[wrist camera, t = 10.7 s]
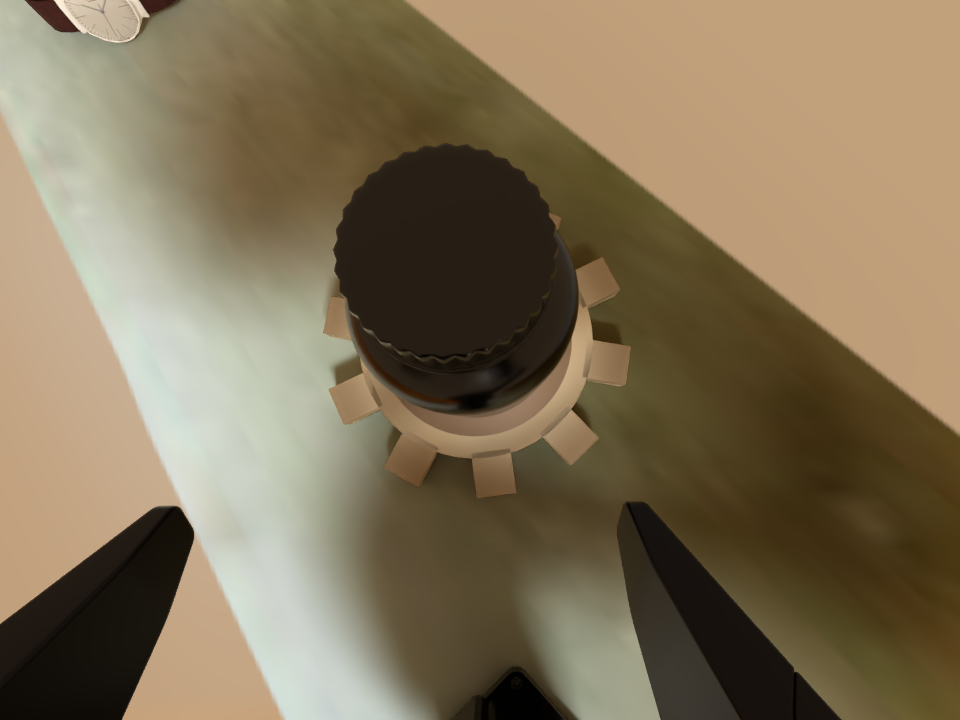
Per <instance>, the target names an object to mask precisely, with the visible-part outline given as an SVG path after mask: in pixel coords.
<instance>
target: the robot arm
mask: <svg viewBox="0 0 960 720" xmlns="http://www.w3.org/2000/svg"><path fill="white" fill-rule="evenodd" d="M617 537H618V543H619V549H620V555H621V561H622V566H623V572H624V578H625V584H626V589H627V595H628V601H629V606H630V611H631V616H632V620H633V624H634V627H635V631H636V634H637V638H638V641H639V645H640V648H641V652H642V655H643V659H644V662H645V666H646V669H647V673H648V676H649V680H650V683H651V687H652V690H653V694H654V697H655V701H656V704H657V708H658V711H659V715H660V718H661V720H841V719H840V718H839V716H838V715H837V714H836V713H835V712H834V711H833V710H832V709H831V708H830V707H829V706H828V705H827V704H826V702H825V701H824V700H823V699H822V698H821V697H820V696H819V695H818V694H817V693H816V692H815V690H814V689H813V688H812V687H811V686H810V685H809V684H808V683H807V682H806V680H805V679H804V678H803V677H802V676H801V675H800V674H799V673H798V672H794V667H793V666H792V665H791V664H790V663H789V662H788V661H787V659H786V658H785V657H784V656H783V655H782V654H781V653H780V652H779V651H778V649H777V648H776V647H775V646H774V645H773V644H772V643H771V642H770V640H769V639H768V638H767V637H766V636H765V635H764V634H763V633H762V632H761V630H760V629H759V628H758V627H757V626H756V625H755V624H754V623H753V621H752V620H751V619H750V618H749V617H748V616H747V615H746V614H745V613H744V611H743V610H742V609H741V608H740V607H739V606H738V605H737V604H736V603H735V601H734V600H733V599H732V598H731V597H730V596H729V595H728V594H727V592H726V591H725V590H724V589H723V588H722V587H721V586H720V585H719V584H718V582H717V581H716V580H715V579H714V578H713V577H712V576H711V575H710V573H709V572H708V571H707V570H706V569H705V568H704V567H703V566H702V565H701V563H700V562H699V561H698V560H697V559H696V558H695V557H694V556H693V555H692V553H691V552H690V551H689V550H688V549H687V548H686V547H685V546H684V544H683V543H682V542H681V541H680V540H679V539H678V538H677V537H676V536H675V534H674V533H673V532H672V531H671V530H670V529H669V528H668V527H667V525H666V524H665V523H664V522H663V521H662V520H661V519H660V518H659V517H658V515H657V514H656V513H655V512H654V511H653V510H652V509H651V508H650V507H649V505H648V504H646V503H644V502H625V503H624V504H623V507H622V510H621V514H620V518H619V522H618V526H617ZM193 540H194V530H193V528H192V526H191V524H190V523H189V521H188V519H187V518H186V516H185V514H184V513H183V511H182V509H181V508H180V507H178V506H158V507H155V508H153V509H151V510H150V511H148V512H147V513H146V514H144V515H143V516H142V517H141V518H139V519H138V520H137V521H135V522H134V523H133V524H131V525H130V526H129V527H127V528H126V529H125V530H123V531H122V532H121V533H119V534H118V535H117V536H115V537H114V538H113V539H112V540H110V541H109V542H108V543H106V544H105V545H104V546H102V547H101V548H100V549H98V550H97V551H96V552H94V553H93V554H92V555H91V556H89V557H88V558H86V559H85V560H84V561H83V562H81V563H80V564H79V565H77V566H76V567H75V568H73V569H72V570H71V571H69V572H68V573H67V574H65V575H64V576H63V577H61V578H60V579H59V580H57V581H56V582H55V583H54V584H52V585H51V586H50V587H48V588H47V589H46V590H44V591H43V592H42V593H40V594H39V595H38V596H37V597H35V598H34V599H33V600H31V601H30V602H29V603H27V604H26V605H25V606H23V607H22V608H21V609H19V610H18V611H17V612H16V613H14V614H13V615H11V616H10V617H9V618H7V619H6V620H5V621H3V622H2V623H1V624H0V720H122V718H123V716H124V714H125V712H126V709H127V707H128V705H129V703H130V700H131V698H132V696H133V694H134V691H135V689H136V687H137V685H138V683H139V680H140V678H141V676H142V674H143V671H144V669H145V667H146V665H147V663H148V660H149V658H150V656H151V654H152V651H153V649H154V647H155V645H156V642H157V640H158V638H159V636H160V633H161V631H162V629H163V626H164V624H165V622H166V619H167V617H168V614H169V612H170V609H171V606H172V603H173V601H174V598H175V595H176V592H177V589H178V586H179V583H180V580H181V577H182V574H183V571H184V568H185V565H186V562H187V559H188V556H189V553H190V550H191V547H192V544H193ZM515 677H518V678H520V679H521V680H522V681H521V683H520V684H518V685H515V684H513V683H512V682H511V681H512V679H513V678H515ZM452 720H568V719H567V718H566V717H565V715H564V714H563V713H562V712H561V711H560V710H559V709H558V708H557V707H556V705H555V704H554V703H553V702H552V701H551V700H550V699H549V698H548V696H547V695H546V694H545V693H544V692H543V691H542V690H541V689H540V687H539V686H538V685H537V684H536V683H535V682H534V681H533V680H532V678H531V677H530V676H529V675H528V674H527V673H526V672H525V671H524V670H523V669H522V668H520V667H512V668H510V669H509V670H508V671H507V672H506V673H505V674H504V675H503V676H502V677H501V678H500V679H499V680H498V681H497V682H496V683H495V684H494V685H493V686H492V687H491V688H490V689H489V690H488V691H487V692H486V693H485V694H484V695H483V696H482V695H477V696H474V697H473V698H472V699H471V700H470V701H469V702H468V703H467V704H466V705H465V706H464V707H463V708H462V709H461V710H460V711H459V712H458V713H457V715H456V716H455V717H454V718H453V719H452Z"/></svg>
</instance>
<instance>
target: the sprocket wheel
mask: <svg viewBox="0 0 960 720" xmlns="http://www.w3.org/2000/svg"><path fill="white" fill-rule="evenodd" d="M549 216H550V217H551V219H552V220H553V222H554V223H555V225H556V230H558V227H559V224H560V221H561V218H560V217H558V216H556V215H554V214H552V213H550V212H549ZM576 274H577V280H578V287H579V308H578V316H577V321H576V325H575V329H574V332H573V335H572V338H571V341H570V343H569V345H568V347H567V350H566V352H565V354H564V355H563V357H562V359H561V361H560V362H559V364H558V365H557V366H556V368H555V369H554V370H553V372H552V373H551V374H550V375H549V376H548V378H547V379H546V380H545V381H544V382H543V383H542V384H541V385H540V386H539V387H538V388H537V389H536V390H535V391H534V392H533V393H532V394H531V395H530V396H529V397H528V398H527V399H526V400H524V401H523V402H522V403H520V404H519V405H517V406H515V407H514V408H512V409H510V410H508V411H506V412H503V413H500V414H497V415H493V416H488V417H479V418H470V417H461V416H454V415H447V414H441V413H436V412H432V411H430V410H426V409H423V408H420V407H417V406H415V405H413V404H411V403H409V402H406V401H404V400H403V399H401V398H400V397H398V396H396V395H395V394H393V393H392V392H391V391H389V390H388V389H387V388H385V387H384V386H383V385H382V384H381V383H380V382H379V381H378V380H377V379H376V378H375V377H374V376H373V375H372V374H371V373H370V372H369V370H368V369H367V368H366V366H365V365H364V363H363V362H362V360H361V358H360V360H361V367H362V371H363V373H361V374H359V375H357V376H355V377H353V378H351V379H349V380H347V381H345V382H343V383H341V384H339V385H337V386H335V387H332V388H330V389H329V392H330V394H331V396H332V398H333V401H334V403H335V405H336V408H337V410H338V412H339V414H340V417H341V419H342V421H343V424H353V423H355V422H357V421H359V420H361V419H363V418H365V417H367V416H369V415H371V414H373V413H376V412H378V411H380V410H381V412H382V413H383V414H384V415H385V417H386V418H387V419H388V420H389V421H390V422H391V423H392V424H393V425H394V426H395V427H396V428H397V429H398V430H399V431H400V432H401V433H402V434H401V436H400V438H399V440H398V442H397V444H396V445H395V447H394V449H393V451H392V453H391V455H390V456H389V458H388V460H387V462H386V464H385V466H384V467H383V468H384V469H386V470H388V471H390V472H392V473H393V474H395V475H397V476H399V477H400V478H402V479H404V480H406V481H408V482H409V483H411V484H413V485H415V486H416V487H418V486H419V485H421V484H422V482H423V480H424V478H425V476H426V475H427V473H428V471H429V469H430V467H431V465H432V463H433V462H434V460H435V458H436V456H437V454H438V453H441V454H445V455H449V456H454V457H461V458H472V465H473V473H474V480H475V488H476V495H477V498H483V497H490V496H498V495H505V494H512V493H517V492H516V486H515V479H514V472H513V465H512V458H511V453H512V452H515V451H518V450H520V449H523V448H525V447H527V446H529V445H531V444H533V443H535V442H536V441H538V440H539V439H541V438H543V439H544V440H545V441H546V442H547V443H548V444H549V445H550V446H551V447H552V448H553V450H554V451H555V452H556V453H557V454H558V455H559V456H560V457H561V458H562V459H563V460H564V461H565V462H566V463H567V464H569V465H570V466H571V465H572V464H573V463H574V462H575V461H576V460H577V459H578V458H579V457H580V456H581V455H582V454H583V453H585V452H586V451H587V450H588V449H589V448H590V447H591V446H592V445H593V444H594V443H595V442H596V441H597V440H598V439H599V437H598V436H597V435H596V434H595V433H594V432H593V431H592V430H591V429H590V428H589V427H588V426H587V425H586V424H585V423H584V422H583V421H582V420H581V419H580V418H579V417H578V416H577V415H576V414H575V413H574V412H573V411H572V410H571V409H572V407H573V406H574V404H575V403H576V401H577V400H578V398H579V396H580V394H581V391H582V389H583V387H584V385H585V382H586V381H590V382H596V383H601V384H607V385H613V386H622V385H626V379H627V372H628V364H629V357H630V350H631V346H625V345H619V344H613V343H607V342H601V341H595V340H593V336H592V325H591V320H590V316H589V311H588V309H589V308H591V307H593V306H595V305H598V304H600V303H602V302H604V301H606V300H608V299H610V298H612V297H614V296H615V295H616V294H617V293H618V292H619V291H620V288H619V286H618V284H617V282H616V281H615V279H614V277H613V275H612V273H611V271H610V270H609V268H608V266H607V264H606V262H605V260H604V259H603V257H601V258H599V259H597V260H595V261H593V262H591V263H589V264H587V265H585V266H583V267H581V268H578V269H576ZM323 333H325V334H327V335H329V336H331V337H335V338H341V339H346V340H351V337H350V333H349V330H348V326H347V321H346V315H345V299H344V298H338V297H333V296H331V300H330V304H329V309H328V313H327V318H326V322H325V327H324V331H323Z"/></svg>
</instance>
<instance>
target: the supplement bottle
mask: <svg viewBox="0 0 960 720" xmlns="http://www.w3.org/2000/svg"><path fill="white" fill-rule="evenodd" d="M336 232H337V238H338V240H337V242H336V244H335V247H334V249H333V251H334V255H335V257H336V264H335V270H334V272H335V274H336V275H337V277H338V279H339V280H340V293H341V295H342V296H343V297H344V298H345V315H346V321H347V326H348V330H349V333H350V337H351V340H352V342H353V344H354V347H355V349H356V351H357V353H358V355H359V357H360V358H361V360H362V362H363V363H364V365H365V366H366V368H367V369H368V370H369V372H370V373H371V374H372V375H373V376H374V377H375V378H376V379H377V380H378V381H379V382H380V383H381V384H382V385H383V386H384V387H385V388H387V389H388V390H389V391H391V392H392V393H393V394H395V395H396V396H398V397H400V398H401V399H403V400H404V401H406V402H409V403H411V404H413V405H415V406H417V407H420V408H423V409H426V410H430V411H432V412H436V413H441V414H447V415H454V416H461V417H470V418H479V417H488V416H493V415H497V414H500V413H503V412H506V411H508V410H510V409H512V408H514V407H515V406H517V405H519V404H520V403H522V402H523V401H524V400H526V399H527V398H528V397H529V396H530V395H531V394H532V393H533V392H534V391H535V390H536V389H537V388H538V387H539V386H540V385H541V384H542V383H543V382H544V381H545V380H546V379H547V378H548V376H549V375H550V374H551V373H552V372H553V370H554V369H555V368H556V366H557V365H558V364H559V362H560V361H561V359H562V357H563V355H564V354H565V352H566V350H567V347H568V345H569V343H570V341H571V338H572V335H573V332H574V329H575V325H576V321H577V316H578V308H579V287H578V280H577V274H576V270H575V266H574V263H573V260H572V257H571V255H570V252H569V250H568V248H567V246H566V244H565V242H564V240H563V239H562V237H561V236H560V234H559V233H558V231H557V230H556V225H555V223H554V222H553V220H552V219H551V217H550V216H549V205H548V204H547V203H546V202H545V201H544V200H543V199H542V198H541V197H540V192H539V189H538V187H537V186H536V185H534V184H533V183H531V182H529V181H528V179H527V177H526V175H525V173H524V171H521V170H519V169H517V168H514V167H512V165H511V164H510V162H509V161H508V160H507V159H504V158H500V157H495V156H494V155H493V154H492V153H491V152H489V151H488V150H476V149H474V148H473V147H471V146H469V145H460V146H454V145H451V144H447V143H445V144H441V145H439V146H437V147H431V146H423V147H422V148H420V149H419V150H417V151H415V152H404V153H403V154H401V155H400V156H399V157H398V158H397V159H396V160H391V161H388V162H385V163H384V164H383V165H382V166H381V168H380V169H379V170H378V171H376V172H374V173H372V174H370V175H368V177H367V178H366V180H365V183H364V184H363V185H362V186H361V187H359V188H358V189H356V190H355V191H354V193H353V196H352V200H351V202H350V203H349V204H348V205H347V206H346V207H345V208H344V209H343V220H342V221H341V223H340V224H339V226H338V227H337V229H336Z"/></svg>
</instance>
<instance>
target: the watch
mask: <svg viewBox="0 0 960 720" xmlns="http://www.w3.org/2000/svg"><path fill="white" fill-rule="evenodd" d="M25 1H26V2H27V3H28V4H29V5H30V6H31V7H32V8H33V9H34V10H35V11H36V12H37V13H38V14H39V15H40V16H41V17H42V18H43V19H44V20H45V21H46V22H47V23H48V24H49V25H51V26H52V27H53V28H54V29H55V30H57V31H60V32H78V31H81V32H82V33H83V34H85V33H87V32H88V33H89V34H91V35H93V36H96V37H98V38H100V39H103V40H105V41H110V42H115V43H122V42H128V41H130V40H132V39H134V38H135V36H136V35H137V34H138V33H139V30H140V27H141V24H142V19H143V17H150V16H149V14H150V13H153V12H156V11H158V10H161V9H163V8H165V7H167V6H169V5H170V4H172V3H173V2H174V1H175V0H25Z"/></svg>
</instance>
